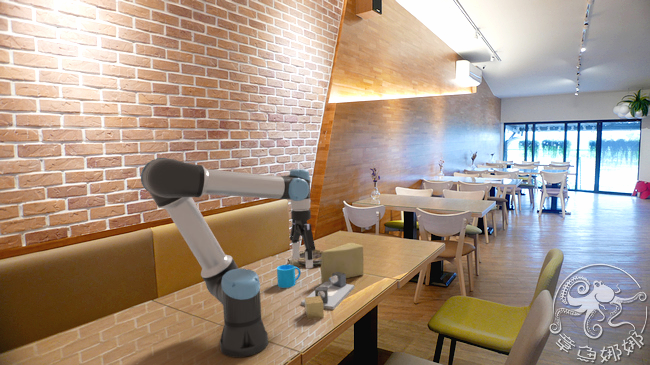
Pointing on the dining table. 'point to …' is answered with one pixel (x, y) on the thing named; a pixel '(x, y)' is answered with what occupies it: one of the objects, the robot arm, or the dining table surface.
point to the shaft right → (338, 279)
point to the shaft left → (322, 293)
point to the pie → (301, 261)
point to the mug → (287, 275)
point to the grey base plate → (333, 295)
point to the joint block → (314, 307)
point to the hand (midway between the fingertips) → (302, 263)
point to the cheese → (342, 261)
